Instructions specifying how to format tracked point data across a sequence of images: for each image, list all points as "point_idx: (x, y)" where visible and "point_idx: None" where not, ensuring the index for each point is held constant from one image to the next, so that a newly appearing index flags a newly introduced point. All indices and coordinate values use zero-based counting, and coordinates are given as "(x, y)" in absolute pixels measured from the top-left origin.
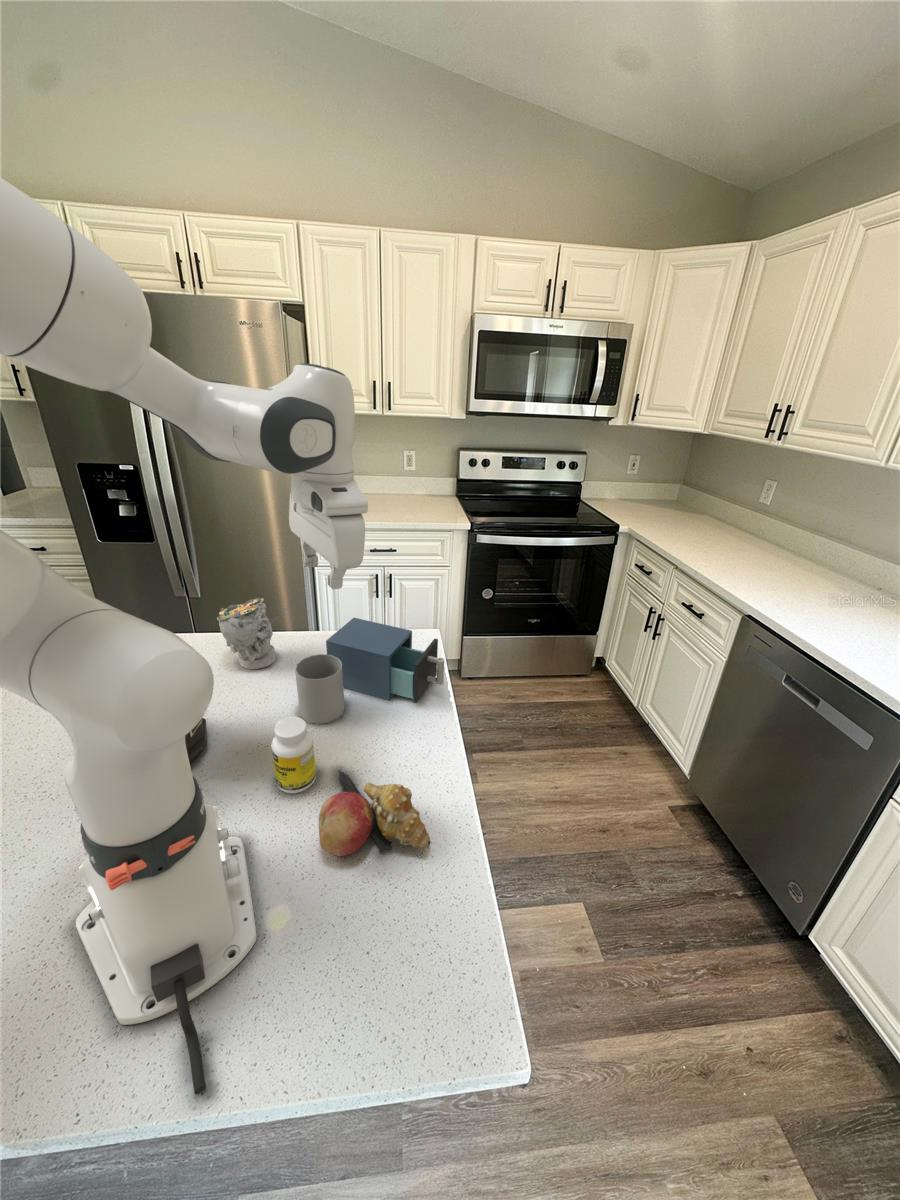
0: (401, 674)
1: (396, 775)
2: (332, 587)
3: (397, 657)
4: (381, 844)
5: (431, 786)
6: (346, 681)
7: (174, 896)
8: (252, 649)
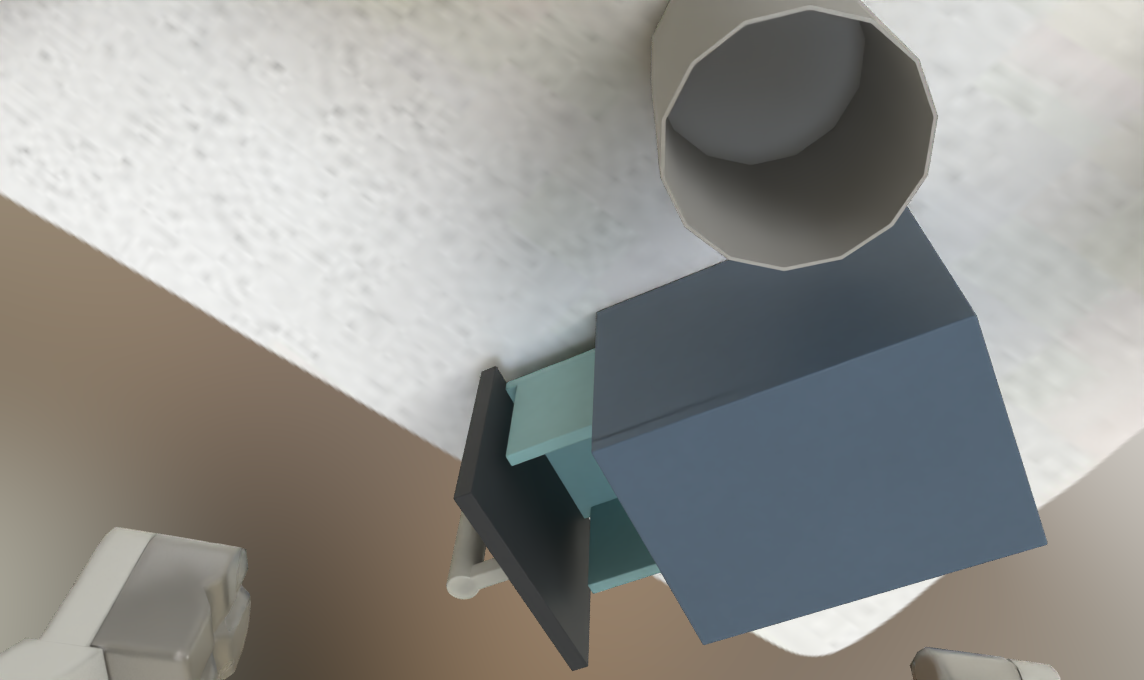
0: (558, 426)
1: (192, 59)
2: (105, 543)
3: None
4: None
5: (74, 123)
6: None
7: None
8: None
